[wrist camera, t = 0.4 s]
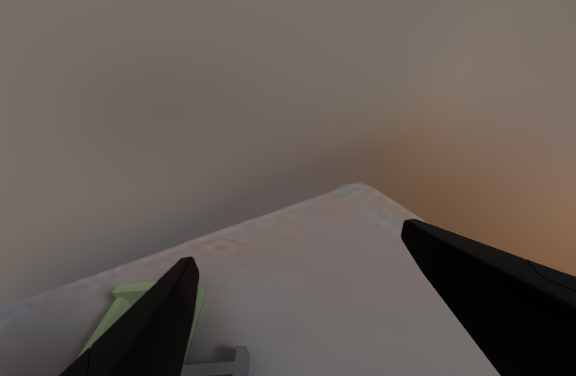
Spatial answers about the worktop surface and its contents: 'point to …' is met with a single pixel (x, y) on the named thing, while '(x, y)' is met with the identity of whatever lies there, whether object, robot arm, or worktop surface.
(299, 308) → the worktop surface
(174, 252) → the worktop surface
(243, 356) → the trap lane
